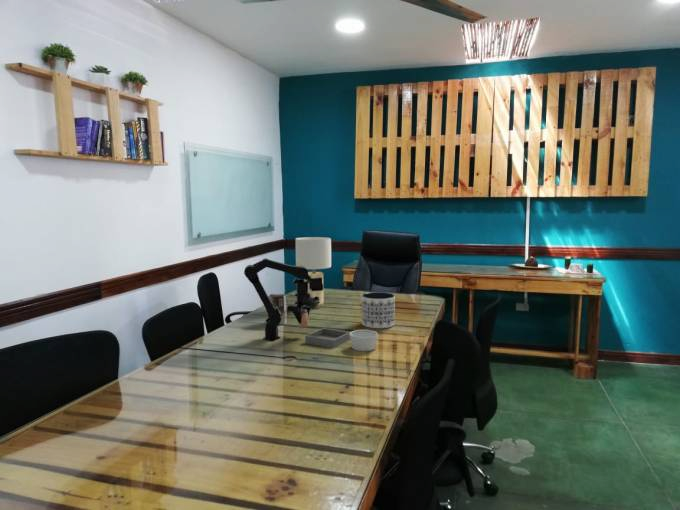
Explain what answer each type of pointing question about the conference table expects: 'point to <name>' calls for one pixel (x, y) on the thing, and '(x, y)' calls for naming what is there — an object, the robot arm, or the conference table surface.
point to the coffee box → (280, 305)
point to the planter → (378, 310)
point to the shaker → (304, 319)
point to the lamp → (314, 259)
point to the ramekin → (363, 340)
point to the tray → (327, 337)
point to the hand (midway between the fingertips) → (302, 322)
